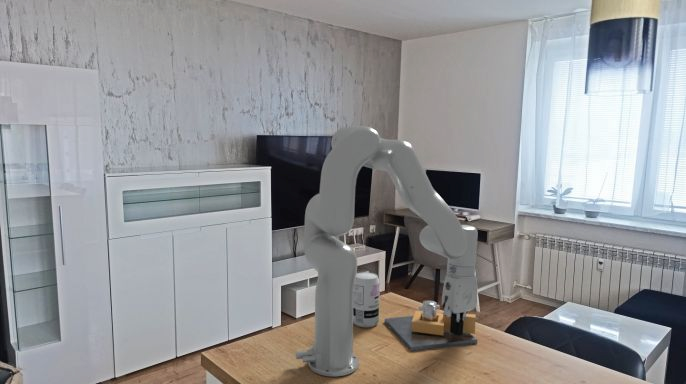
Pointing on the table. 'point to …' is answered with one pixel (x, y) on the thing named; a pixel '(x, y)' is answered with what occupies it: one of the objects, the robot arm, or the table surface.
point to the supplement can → (366, 300)
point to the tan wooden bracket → (440, 324)
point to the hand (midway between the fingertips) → (456, 333)
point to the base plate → (426, 340)
